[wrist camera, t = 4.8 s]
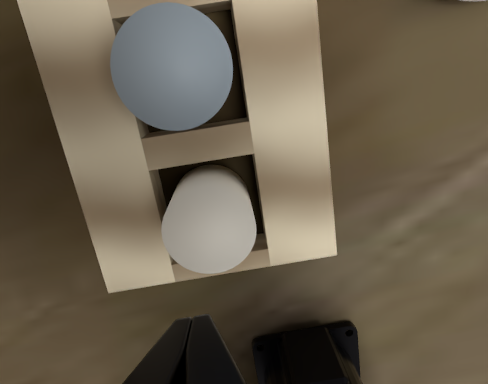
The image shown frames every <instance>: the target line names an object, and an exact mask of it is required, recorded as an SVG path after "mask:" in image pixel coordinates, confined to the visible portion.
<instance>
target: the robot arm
mask: <svg viewBox="0 0 488 384" xmlns="http://www.w3.org/2000/svg"><path fill="white" fill-rule="evenodd" d="M347 330H350V331H349V332H346V331H347ZM258 345H263V346H261V347H258ZM252 349H253V355H254V360H255V366H256V372H257V377H258V383H259V384H362V381H361V379H360V365H359V350H358V335H357V329H356V327H355V325H354V324H353V323H351V322H344V323H338V324H332V325H326V326H320V327H314V328H308V329H302V330H296V331H290V332H284V333H278V334H272V335H267V336H261V337H257V338H255V339H254V340H253V341H252ZM122 384H246V382H245V380H244V378H243V376H242V374H241V372H240V371H239V369H238V367H237V365H236V363H235V361H234V359H233V357H232V356H231V354H230V352H229V350H228V348H227V346H226V344H225V342H224V341H223V339H222V337H221V335H220V333H219V331H218V329H217V327H216V325H215V324H214V322H213V320H212V318H211V316H210V315H209V314H205V315H199V316H195V317H193V319H192V318H191V317H187V318H181V319H177V320H175V321H174V322H173V323H172V325H171V326H170V327H169V328H168V329H167V331H166V332H165V333H164V334H163V335H162V337H161V338H160V339H159V340H158V341H157V343H156V344H155V345H154V346H153V347H152V349H151V350H150V351H149V352H148V353H147V355H146V356H145V357H144V358H143V359H142V361H141V362H140V363H139V364H138V365H137V367H136V368H135V369H134V370H133V371H132V373H131V374H130V375H129V376H128V377H127V379H126V380H125V381H124V382H123V383H122Z"/></svg>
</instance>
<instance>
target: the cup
mask: <svg viewBox="0 0 488 384" xmlns="http://www.w3.org/2000/svg"><path fill="white" fill-rule="evenodd" d="M460 1H473V2H477V1H488V0H460Z"/></svg>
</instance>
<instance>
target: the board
mask: <svg viewBox="0 0 488 384" xmlns="http://www.w3.org/2000/svg"><path fill="white" fill-rule="evenodd" d="M17 2H18V6H19V9H20V12H21V15H22V18H23V22H24V25H25V28H26V31H27V34H28V38H29V41H30V44H31V47H32V50H33V54H34V57H35V60H36V63H37V66H38V70H39V73H40V76H41V79H42V82H43V86H44V89H45V92H46V95H47V98H48V102H49V105H50V108H51V111H52V114H53V118H54V121H55V124H56V127H57V130H58V134H59V137H60V140H61V143H62V146H63V150H64V153H65V156H66V159H67V162H68V165H69V169H70V172H71V175H72V178H73V181H74V185H75V188H76V191H77V194H78V197H79V201H80V204H81V207H82V210H83V213H84V217H85V220H86V223H87V226H88V229H89V233H90V236H91V239H92V242H93V245H94V249H95V252H96V255H97V258H98V261H99V265H100V268H101V271H102V274H103V277H104V281H105V284H106V287H107V290H108V293H112V292H118V291H124V290H130V289H136V288H142V287H148V286H154V285H161V284H167V283H173V282H179V281H185V280H191V279H197V278H203V277H209V276H215V275H221V274H227V273H233V272H239V271H245V270H251V269H257V268H263V267H269V266H275V265H281V264H287V263H293V262H299V261H305V260H311V259H317V258H323V257H329V256H335V255H337V248H336V235H335V223H334V210H333V198H332V185H331V173H330V160H329V148H328V135H327V123H326V110H325V98H324V85H323V73H322V60H321V48H320V35H319V23H318V10H317V0H17ZM165 2H171V3H179V4H184V5H187V6H190V7H192V8H194V9H196V10H198V11H200V12H201V13H203V14H204V13H211V12H217V11H223V10H230V9H231V14H232V21H233V28H234V35H235V41H236V48H237V55H238V62H239V68H240V75H241V82H242V89H243V96H244V102H245V109H246V116H247V117H245V118H239V119H233V120H227V121H220V122H214V123H208V124H202V125H200V126H197V127H195V128H192V129H188V130H181V131H169V130H165V131H158V132H152V133H149V129H148V125H147V124H146V123H145V122H143V121H141V120H140V119H139V118H137V117H136V116H135V115H134V114H133V113H132V112H131V111H130V110H129V109H128V108H127V107H126V106H125V105H124V103H123V102H122V100H121V99H120V97H119V95H118V93H117V91H116V89H115V86H114V83H113V80H112V75H111V68H110V57H111V50H112V45H113V42H114V39H115V37H116V35H117V33H118V31H119V29H120V28H121V26H122V25H123V24H124V22H125V21H126V20H127V19H128V18H129V17H130V16H132V15H133V14H134V13H135V12H137V11H139V10H140V9H142V8H144V7H147V6H149V5H152V4H157V3H165ZM249 154H252V156H253V163H254V170H255V177H256V184H257V190H258V197H259V204H260V211H261V217H262V224H263V231H264V233H261V234H256V239H255V243H254V246H253V248H252V250H251V252H250V253H249V254H248V256H247V257H246V258H245V259H244V260H243V261H242V262H241V263H240V264H238V265H237V266H235V267H234V268H232V269H230V270H227V271H224V272H221V273H215V274H203V273H198V272H194V271H191V270H188V269H186V268H184V267H183V266H181V265H180V264H178V263H177V262H176V261H175V260H174V259H173V258H172V257H171V256H170V254H169V253H168V251H167V250H166V248H165V246H164V243H163V240H162V233H161V227H162V221H163V217H164V215H165V212H166V210H167V206H166V202H165V197H164V193H163V189H162V185H161V180H160V176H159V172H158V169H163V168H169V167H175V166H181V165H187V164H193V163H199V162H206V161H212V160H218V159H224V158H230V157H236V156H242V155H249Z"/></svg>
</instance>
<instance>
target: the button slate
mask: <svg viewBox="0 0 488 384" xmlns="http://www.w3.org/2000/svg"><path fill="white" fill-rule="evenodd" d="M110 68H111V75H112V80H113V83H114V86H115V89H116V91H117V93H118V95H119V97H120V99H121V100H122V102H123V103H124V105H125V106H126V107H127V108H128V109H129V110H130V111H131V112H132V113H133V114H134V115H135V116H136V117H137V118H139V119H140V120H141V121H143V122H145V123H146V124H149V125H151V126H153V127H156V128H159V129H163V130H169V131H181V130H188V129H192V128H195V127H197V126H200V125H201V124H203V123H205V122H207V121H208V120H209V119H211V118H212V117H213V116H214V115H215V114H216V113H217V112H218V111H219V110H220V108H221V107H222V106H223V104H224V102H225V101H226V99H227V96H228V94H229V92H230V88H231V84H232V78H233V63H232V57H231V52H230V49H229V46H228V44H227V42H226V40H225V38H224V36H223V34H222V33H221V31H220V30H219V28H218V27H217V26H216V25H215V24H214V22H213V21H211V20H210V19H209V18H208V17H207V16H206V15H204V14H203V13H201V12H200V11H198V10H196V9H194V8H192V7H190V6H187V5H184V4H179V3H171V2H165V3H157V4H152V5H149V6H147V7H144V8H142V9H140V10H139V11H137V12H135V13H134V14H133V15H132V16H130V17H129V18H128V19H127V20H126V21H125V22H124V24H123V25H122V26H121V28H120V29H119V31H118V33H117V35H116V37H115V39H114V42H113V45H112V50H111V57H110Z"/></svg>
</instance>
